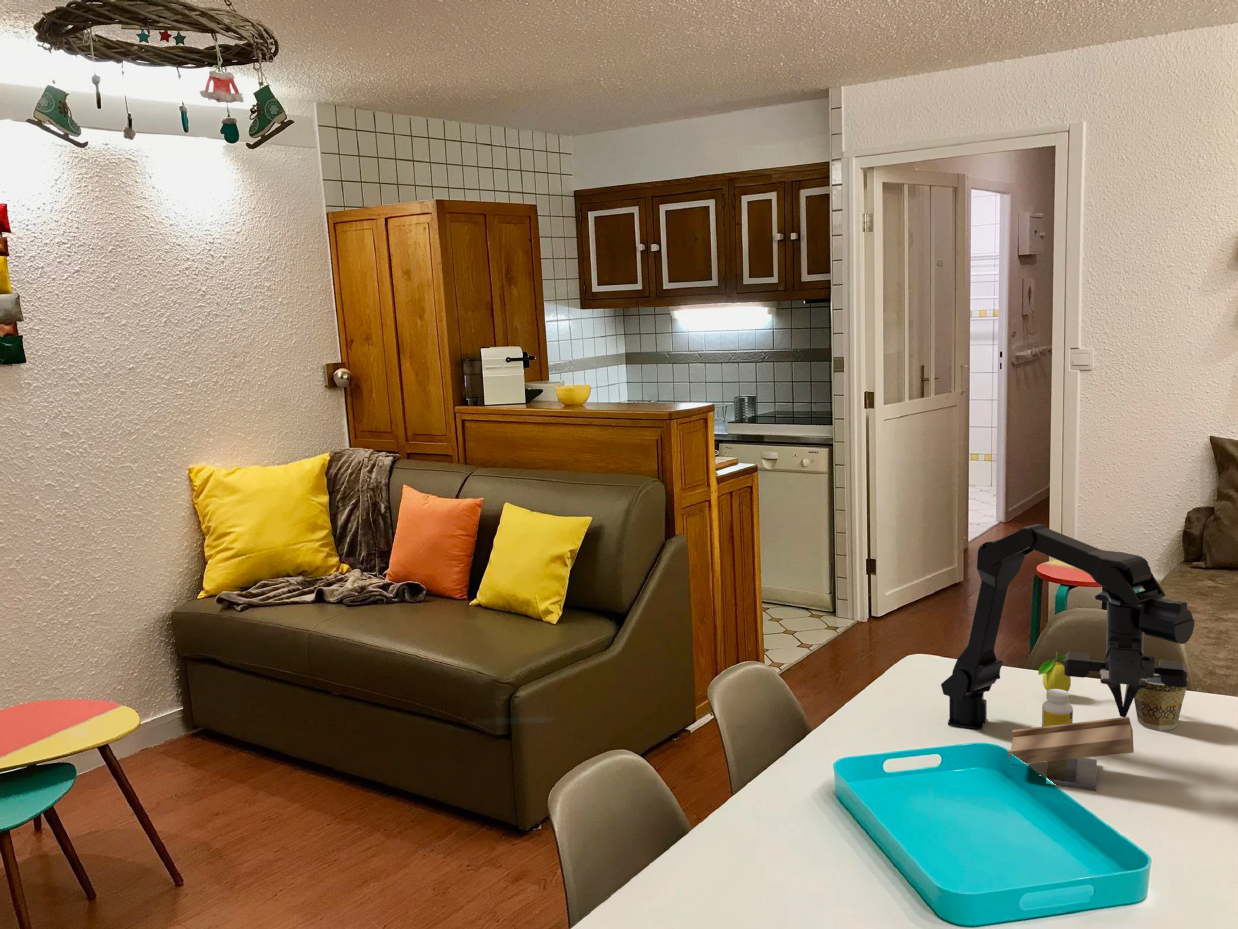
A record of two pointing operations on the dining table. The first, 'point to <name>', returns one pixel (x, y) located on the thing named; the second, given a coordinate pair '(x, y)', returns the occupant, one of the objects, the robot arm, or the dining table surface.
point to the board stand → (1073, 773)
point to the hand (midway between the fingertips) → (1122, 716)
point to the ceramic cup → (1159, 705)
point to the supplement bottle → (1057, 708)
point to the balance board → (1073, 740)
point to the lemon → (1054, 675)
